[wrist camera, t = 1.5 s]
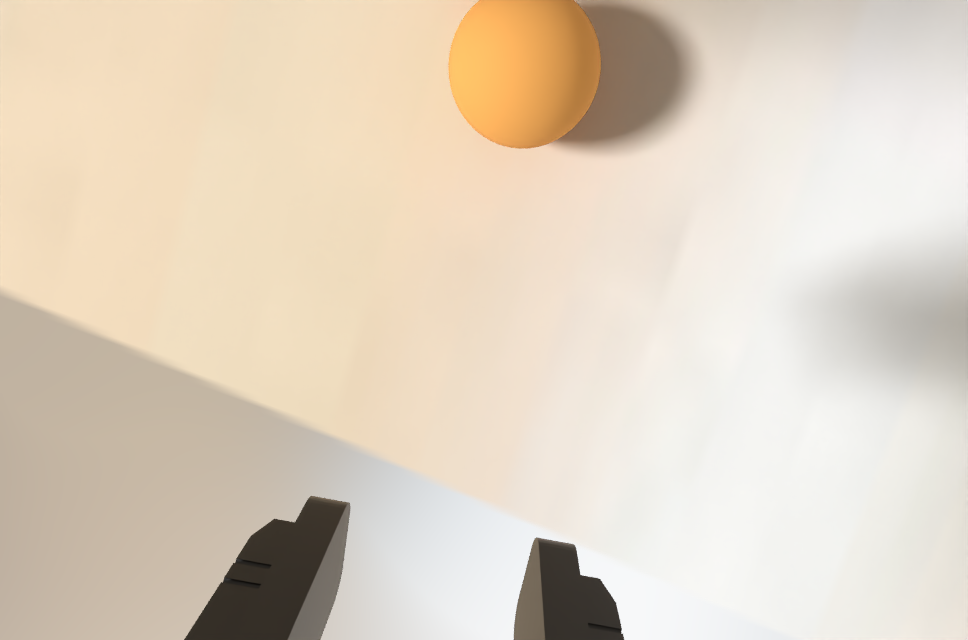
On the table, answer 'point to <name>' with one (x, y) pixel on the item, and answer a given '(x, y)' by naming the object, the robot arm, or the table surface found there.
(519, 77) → the ball
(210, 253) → the table surface
